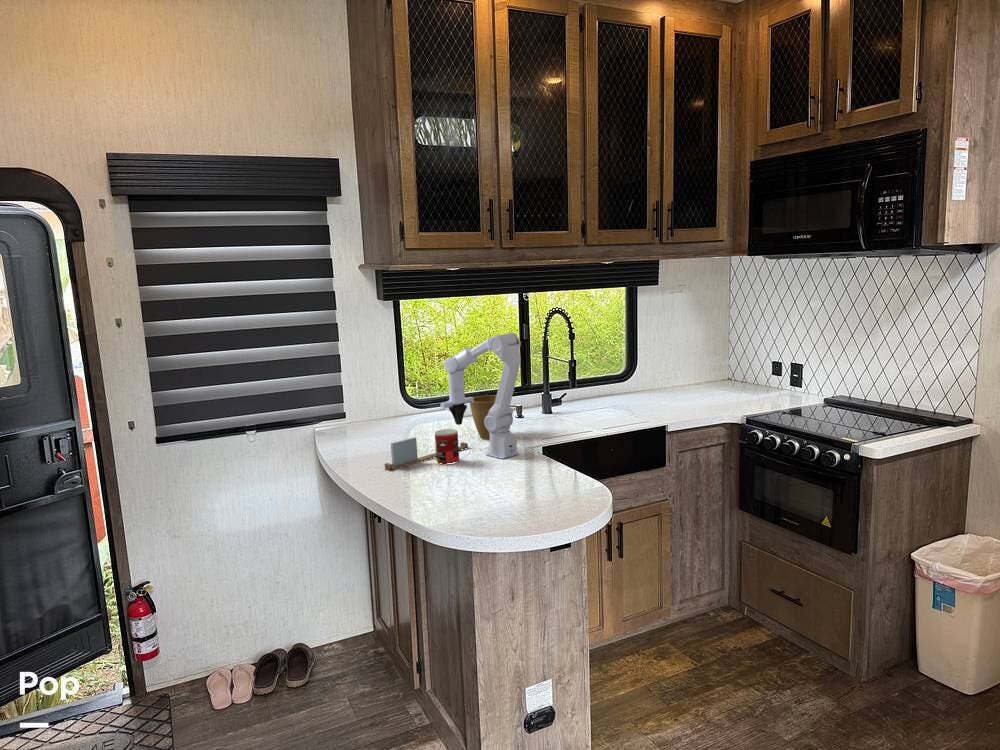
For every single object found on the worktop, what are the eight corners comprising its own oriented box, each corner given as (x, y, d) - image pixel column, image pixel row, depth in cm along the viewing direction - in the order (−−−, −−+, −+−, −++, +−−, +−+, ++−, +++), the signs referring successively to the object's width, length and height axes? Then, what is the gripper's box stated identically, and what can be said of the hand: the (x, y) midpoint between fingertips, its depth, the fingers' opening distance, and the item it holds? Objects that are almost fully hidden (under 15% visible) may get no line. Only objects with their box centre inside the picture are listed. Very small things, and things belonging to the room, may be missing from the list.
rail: (468, 448, 260) (467, 443, 260) (389, 470, 236) (389, 465, 236) (463, 447, 262) (462, 442, 262) (385, 469, 238) (384, 463, 238)
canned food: (434, 461, 245) (431, 431, 244) (455, 457, 248) (453, 427, 247) (440, 466, 238) (438, 435, 237) (462, 462, 241) (460, 432, 240)
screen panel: (418, 459, 245) (416, 437, 244) (395, 466, 238) (393, 443, 237) (415, 458, 246) (413, 437, 245) (391, 465, 240) (389, 442, 238)
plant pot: (485, 444, 265) (483, 403, 263) (464, 438, 277) (461, 398, 274) (516, 437, 274) (514, 397, 271) (494, 431, 285) (492, 393, 283)
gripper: (464, 384, 265) (466, 419, 267) (434, 390, 255) (437, 426, 257) (476, 386, 260) (478, 421, 262) (446, 392, 250) (448, 429, 252)
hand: (458, 424), depth 259 cm, fingers closed
